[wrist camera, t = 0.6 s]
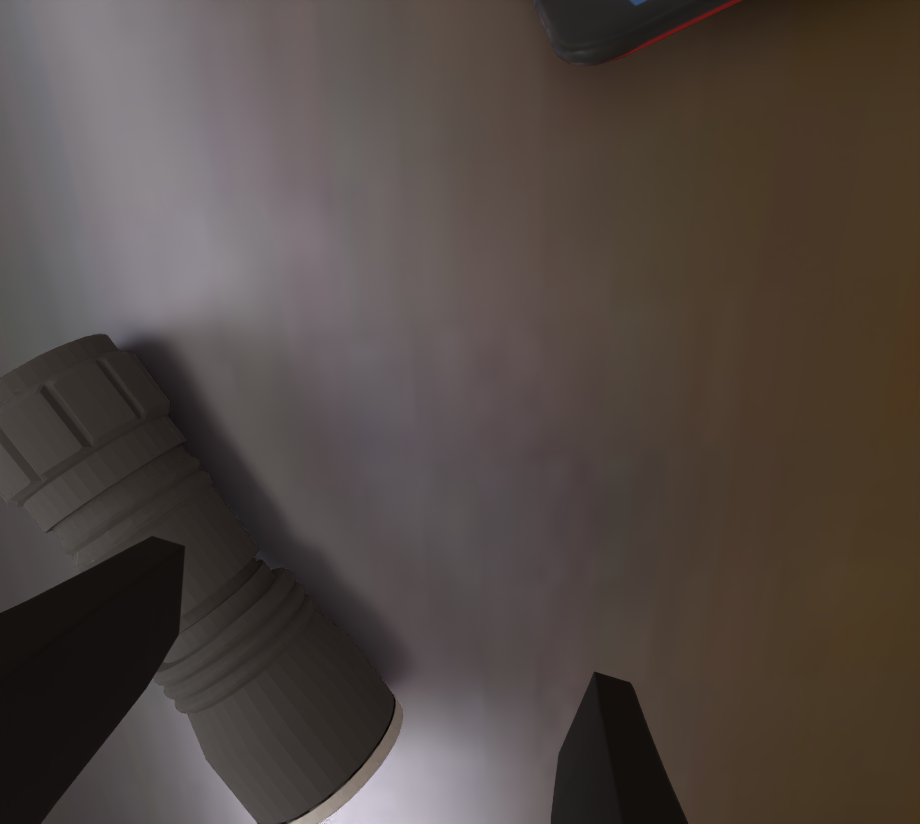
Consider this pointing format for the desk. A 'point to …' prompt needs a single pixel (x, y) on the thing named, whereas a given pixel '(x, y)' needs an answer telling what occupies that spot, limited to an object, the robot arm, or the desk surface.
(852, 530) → the desk surface
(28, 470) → the flashlight
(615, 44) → the handheld console
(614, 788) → the robot arm
